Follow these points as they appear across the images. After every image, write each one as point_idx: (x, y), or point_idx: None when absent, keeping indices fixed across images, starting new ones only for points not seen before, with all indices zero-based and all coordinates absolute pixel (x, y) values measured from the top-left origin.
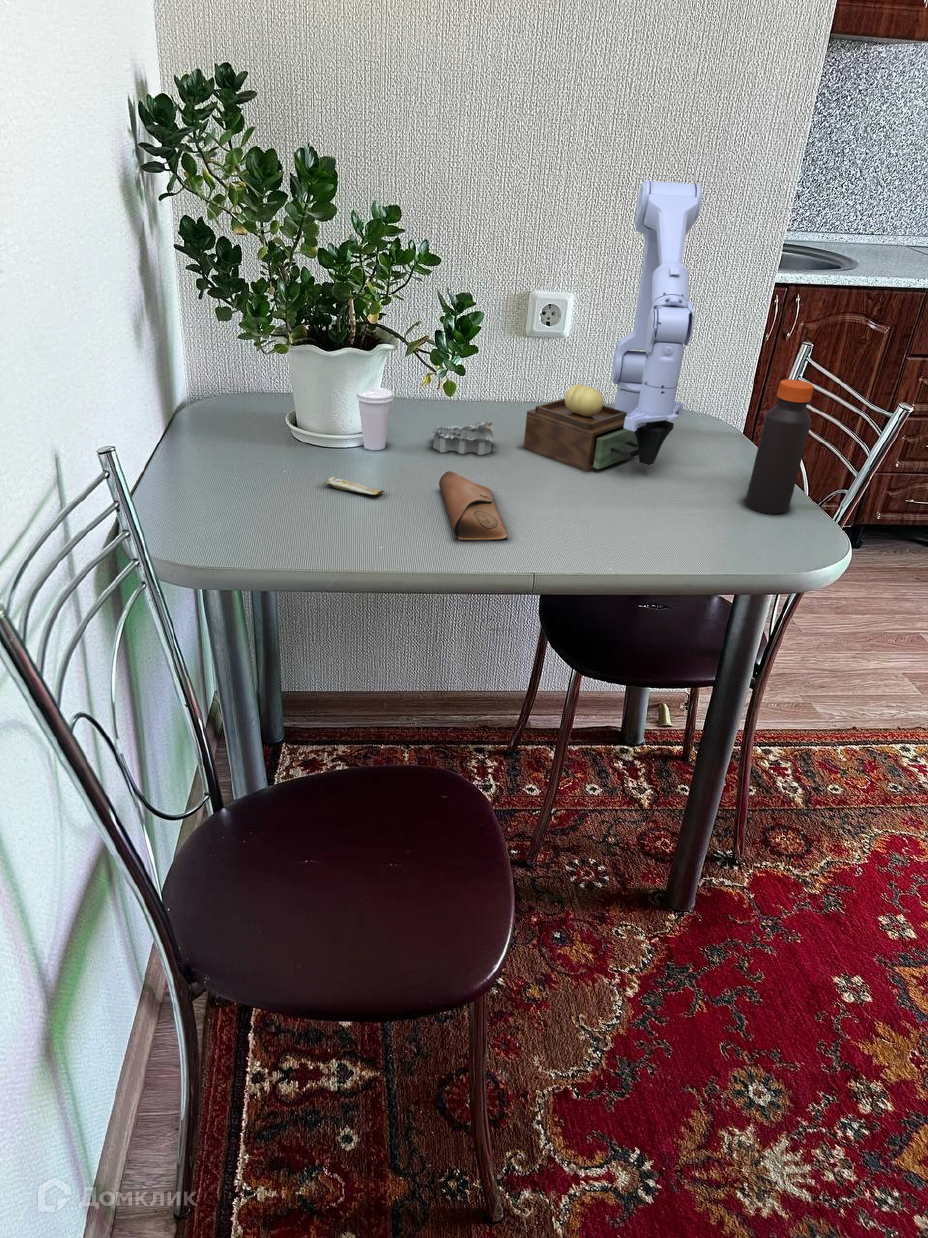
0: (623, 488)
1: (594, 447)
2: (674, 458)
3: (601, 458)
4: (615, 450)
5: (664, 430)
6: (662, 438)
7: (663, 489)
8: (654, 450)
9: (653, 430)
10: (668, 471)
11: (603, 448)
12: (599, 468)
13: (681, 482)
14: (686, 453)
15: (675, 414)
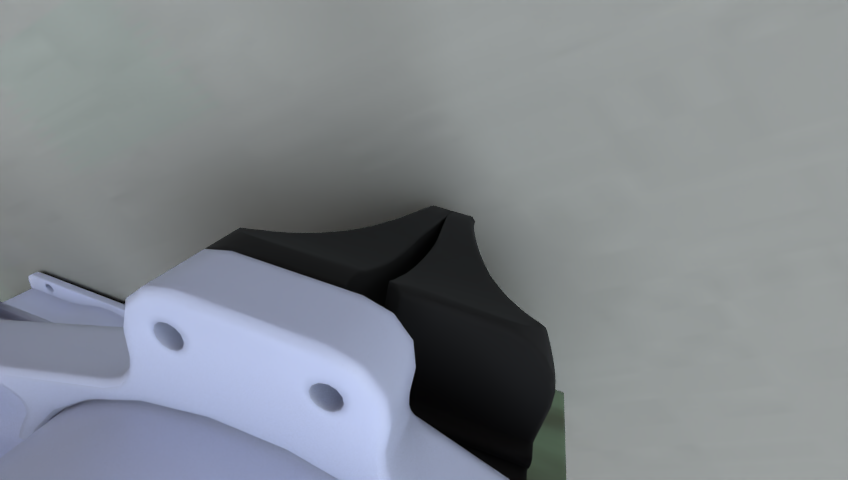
0: (691, 250)
1: None
2: (177, 161)
3: (553, 428)
4: None
5: (424, 291)
6: (384, 251)
7: (584, 62)
8: (461, 243)
9: (549, 399)
10: (322, 132)
11: (548, 472)
12: (557, 391)
13: (412, 14)
14: (96, 137)
15: (149, 347)
